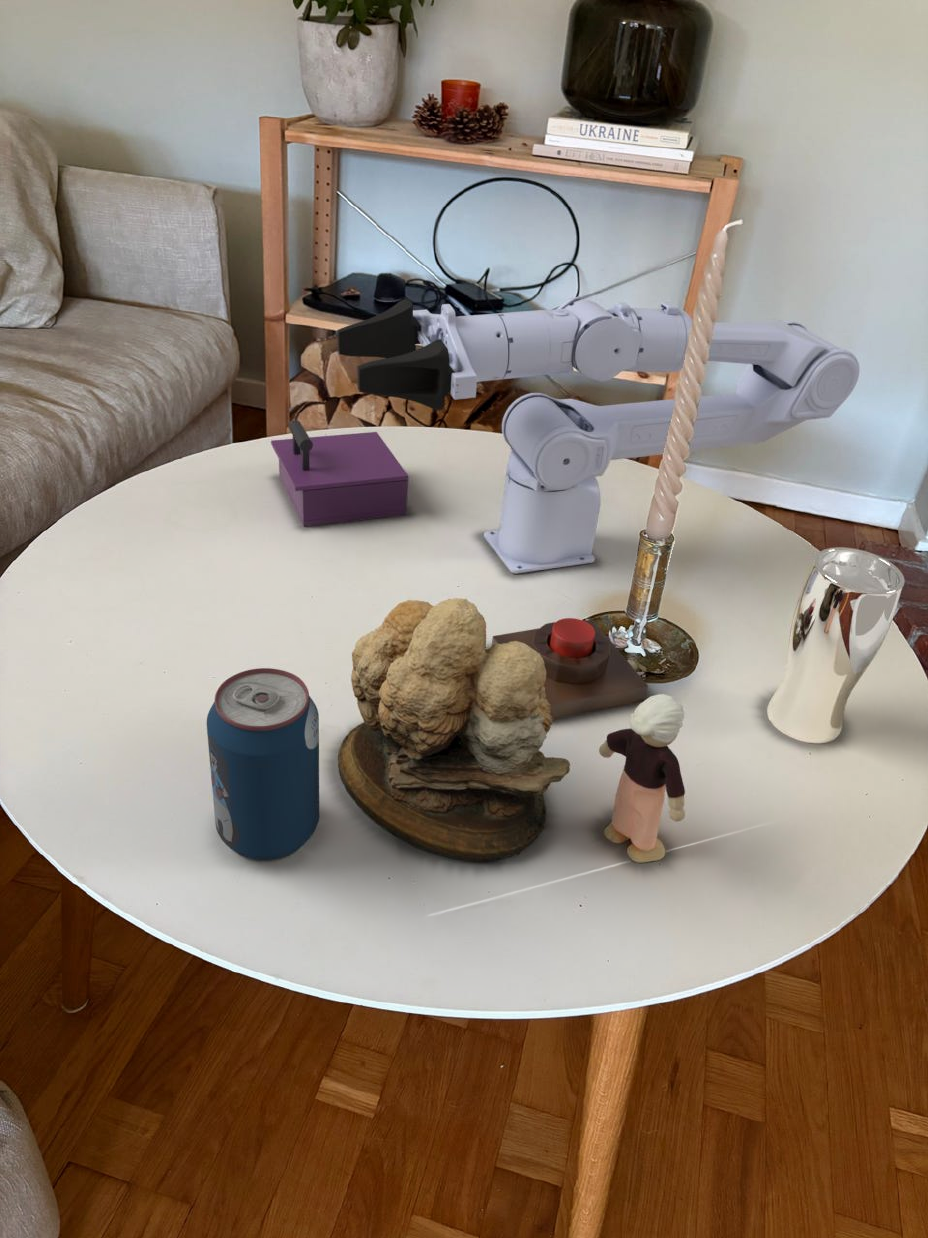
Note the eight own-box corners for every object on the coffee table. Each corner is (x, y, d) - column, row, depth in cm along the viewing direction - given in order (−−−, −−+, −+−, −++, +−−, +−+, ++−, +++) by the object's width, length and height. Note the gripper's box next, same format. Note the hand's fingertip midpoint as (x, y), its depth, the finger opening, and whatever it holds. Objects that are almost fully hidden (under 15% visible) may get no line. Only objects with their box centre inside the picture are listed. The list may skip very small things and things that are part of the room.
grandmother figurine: (688, 851, 68) (731, 715, 60) (659, 882, 65) (701, 743, 58) (599, 794, 71) (630, 659, 64) (569, 821, 69) (597, 684, 62)
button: (579, 631, 83) (583, 615, 82) (599, 655, 81) (603, 638, 80) (542, 637, 82) (545, 621, 81) (561, 662, 79) (564, 645, 78)
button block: (589, 634, 88) (595, 602, 87) (644, 701, 81) (652, 668, 79) (490, 651, 85) (494, 618, 83) (538, 722, 78) (543, 689, 76)
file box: (303, 526, 100) (302, 491, 98) (279, 478, 109) (278, 444, 106) (406, 515, 104) (408, 480, 102) (375, 468, 113) (376, 435, 110)
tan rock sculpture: (589, 802, 71) (632, 612, 61) (504, 904, 62) (537, 704, 53) (397, 700, 78) (407, 517, 69) (298, 780, 70) (293, 584, 60)
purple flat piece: (295, 491, 98) (294, 454, 95) (271, 444, 106) (269, 409, 104) (408, 479, 102) (410, 444, 99) (376, 435, 110) (377, 401, 108)
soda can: (336, 813, 68) (338, 680, 61) (287, 884, 62) (283, 747, 56) (251, 782, 69) (243, 650, 63) (196, 849, 64) (181, 712, 57)
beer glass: (853, 714, 82) (914, 565, 73) (835, 760, 77) (899, 605, 68) (773, 683, 85) (824, 536, 76) (751, 726, 79) (802, 573, 71)
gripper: (473, 273, 88) (328, 283, 85) (530, 335, 78) (367, 349, 74) (469, 346, 93) (331, 358, 89) (522, 414, 82) (368, 431, 79)
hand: (347, 359), depth 82 cm, fingers open, 7 cm apart
